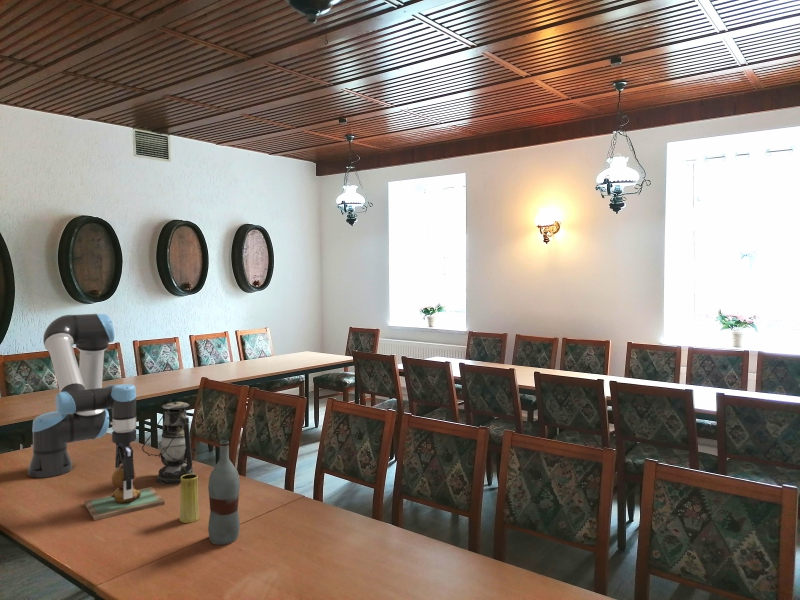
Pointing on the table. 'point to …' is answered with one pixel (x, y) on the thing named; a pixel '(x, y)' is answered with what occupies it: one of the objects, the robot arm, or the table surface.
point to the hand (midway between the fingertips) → (124, 493)
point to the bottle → (224, 500)
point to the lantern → (174, 444)
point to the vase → (189, 498)
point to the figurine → (122, 486)
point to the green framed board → (123, 504)
